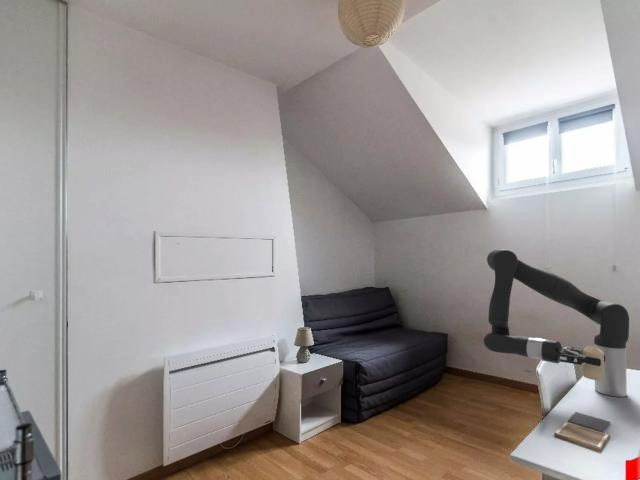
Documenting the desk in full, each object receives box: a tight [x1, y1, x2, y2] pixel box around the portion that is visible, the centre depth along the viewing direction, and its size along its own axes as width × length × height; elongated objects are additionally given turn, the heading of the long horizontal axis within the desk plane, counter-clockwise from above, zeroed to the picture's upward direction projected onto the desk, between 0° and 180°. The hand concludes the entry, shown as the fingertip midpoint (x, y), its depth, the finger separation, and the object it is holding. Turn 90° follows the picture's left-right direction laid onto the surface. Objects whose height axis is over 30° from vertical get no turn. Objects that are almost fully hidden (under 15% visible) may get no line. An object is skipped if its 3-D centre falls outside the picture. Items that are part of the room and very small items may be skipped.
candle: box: [582, 345, 604, 381], centre depth 117 cm, size 6×6×10 cm
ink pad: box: [567, 411, 611, 433], centre depth 109 cm, size 9×9×1 cm
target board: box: [553, 421, 611, 453], centre depth 100 cm, size 11×10×1 cm
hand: (602, 360), depth 116 cm, fingers closed on candle, 5 cm apart
